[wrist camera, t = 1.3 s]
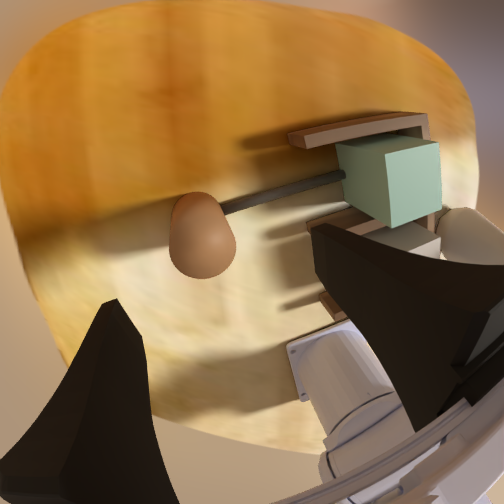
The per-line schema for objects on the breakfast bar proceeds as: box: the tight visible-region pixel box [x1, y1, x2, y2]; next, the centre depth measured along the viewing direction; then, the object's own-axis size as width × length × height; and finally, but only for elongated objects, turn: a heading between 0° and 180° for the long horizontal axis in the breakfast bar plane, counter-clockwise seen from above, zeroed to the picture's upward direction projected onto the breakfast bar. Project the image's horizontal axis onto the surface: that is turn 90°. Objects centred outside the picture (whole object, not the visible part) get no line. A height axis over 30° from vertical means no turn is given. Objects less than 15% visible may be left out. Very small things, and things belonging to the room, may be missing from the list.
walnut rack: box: [287, 112, 435, 322], centre depth 21 cm, size 14×10×3 cm
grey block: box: [361, 221, 441, 259], centre depth 22 cm, size 4×4×6 cm
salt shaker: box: [436, 207, 504, 265], centre depth 20 cm, size 6×6×13 cm
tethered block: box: [169, 133, 442, 279], centre depth 18 cm, size 4×17×6 cm, turn 105°
